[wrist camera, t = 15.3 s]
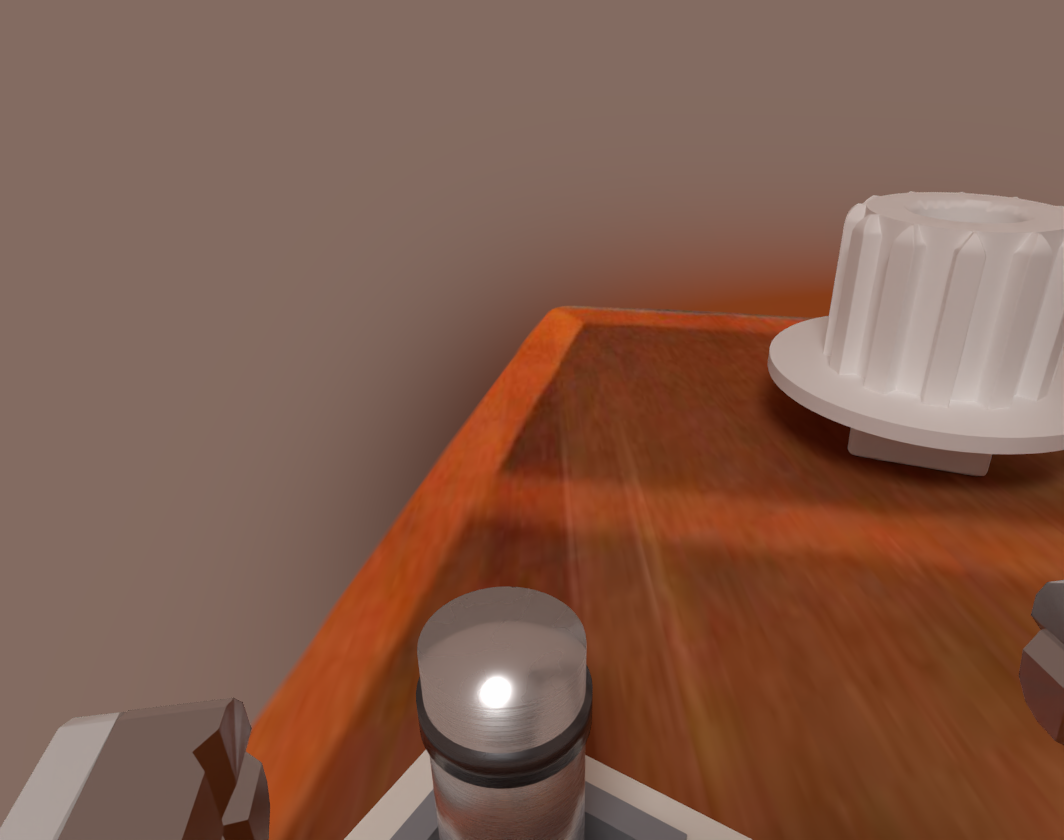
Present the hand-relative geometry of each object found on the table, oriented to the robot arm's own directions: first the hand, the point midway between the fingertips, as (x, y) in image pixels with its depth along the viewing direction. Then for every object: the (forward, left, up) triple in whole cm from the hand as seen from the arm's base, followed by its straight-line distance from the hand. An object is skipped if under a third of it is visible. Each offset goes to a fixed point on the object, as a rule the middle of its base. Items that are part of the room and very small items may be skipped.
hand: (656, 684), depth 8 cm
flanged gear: (-60, -2, -26) cm, 65 cm away
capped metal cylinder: (-9, -8, -24) cm, 27 cm away
